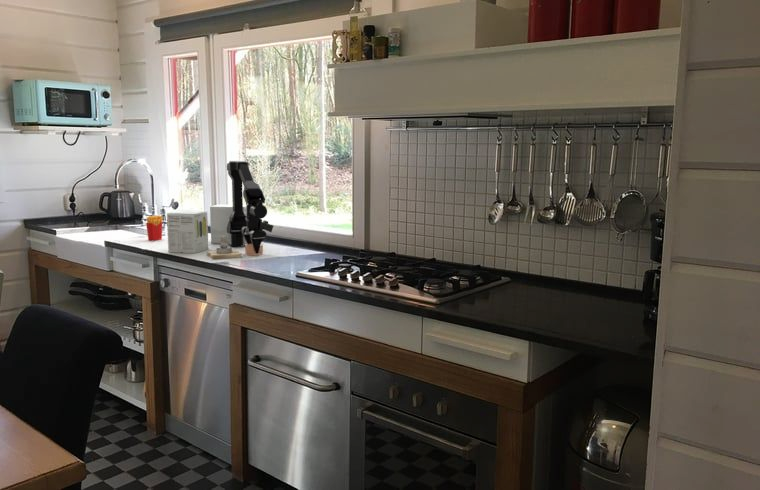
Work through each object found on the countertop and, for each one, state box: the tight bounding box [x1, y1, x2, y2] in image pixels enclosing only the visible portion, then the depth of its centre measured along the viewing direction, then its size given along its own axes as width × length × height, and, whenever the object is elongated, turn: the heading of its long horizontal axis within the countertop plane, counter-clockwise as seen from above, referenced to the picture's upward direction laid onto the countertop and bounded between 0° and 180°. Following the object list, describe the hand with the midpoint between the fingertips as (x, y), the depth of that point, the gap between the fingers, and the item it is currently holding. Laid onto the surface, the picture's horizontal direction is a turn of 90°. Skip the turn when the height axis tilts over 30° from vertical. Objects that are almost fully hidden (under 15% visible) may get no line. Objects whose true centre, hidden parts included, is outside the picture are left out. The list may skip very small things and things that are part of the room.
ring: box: [244, 243, 264, 256], centre depth 278 cm, size 7×7×4 cm
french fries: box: [145, 214, 164, 242], centre depth 317 cm, size 8×4×12 cm, turn 143°
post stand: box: [206, 236, 243, 260], centre depth 272 cm, size 12×12×8 cm
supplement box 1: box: [166, 209, 209, 254], centre depth 285 cm, size 13×13×18 cm
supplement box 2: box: [209, 203, 247, 245], centre depth 312 cm, size 17×13×18 cm
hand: (254, 251), depth 279 cm, fingers open, 9 cm apart
